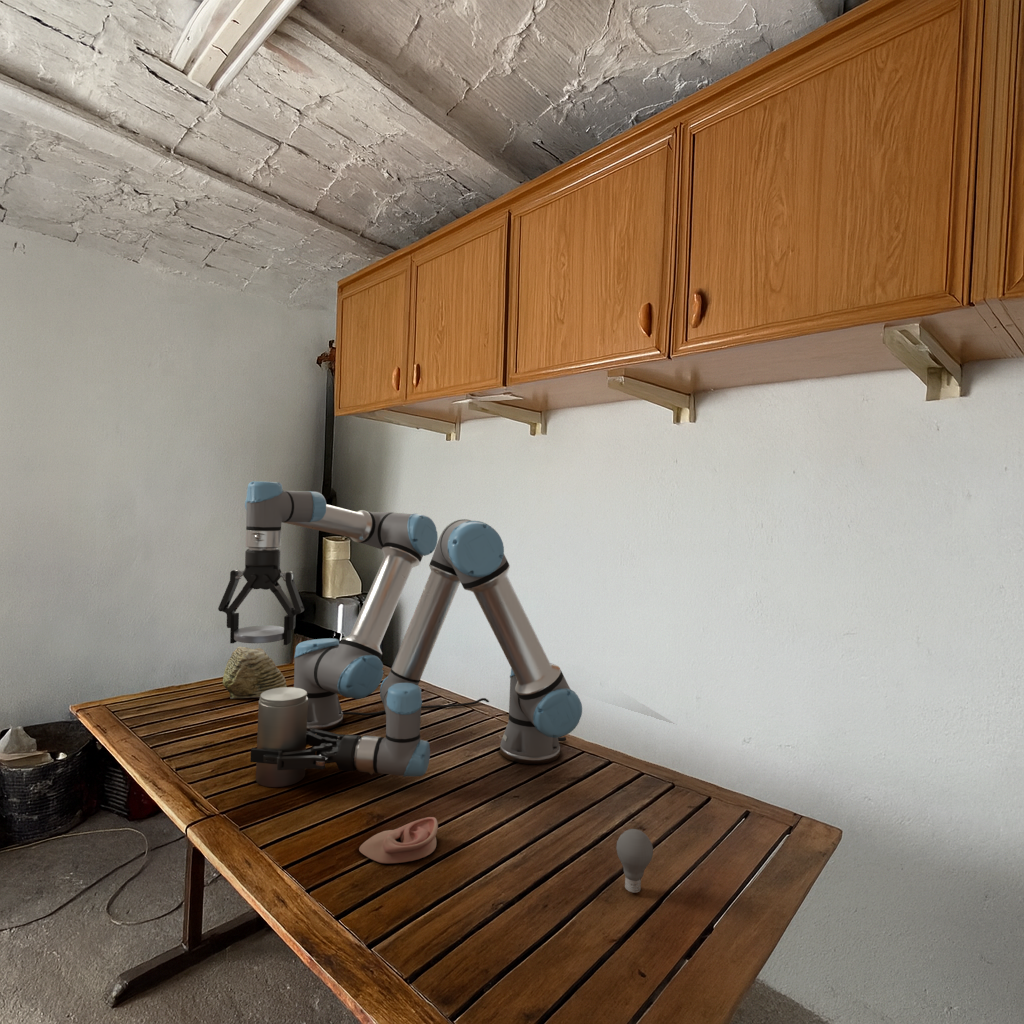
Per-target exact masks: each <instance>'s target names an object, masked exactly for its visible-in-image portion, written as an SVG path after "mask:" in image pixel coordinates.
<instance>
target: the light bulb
mask: <svg viewBox="0 0 1024 1024" xmlns="http://www.w3.org/2000/svg"><path fill="white" fill-rule="evenodd" d="M615 849H616V854H617V857H618V859H619V861H620V863H621V865H622V867H623V873H624V874H623V875H624V876H625V878H624V888H625V890H627V891H628V892H630V893H634V894H635V893H639V892H640V891H641V889H642V887H641V886H642V879H643V877H644V875H645V871H646V868H647V867H648V866H649V864H650V863H651V861H652V859H653V855H654V847H653V843H652V841H651V838H649V836H648V835H647V834H646V833H645V832H643V831H642V830H641V829H636V828H629V829H627V830H625V831H623V832H622V833H621V834H620V835H619V837H618V839H617V841H616V847H615Z"/></svg>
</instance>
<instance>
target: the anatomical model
mask: <svg viewBox="0 0 1024 1024" xmlns="http://www.w3.org/2000/svg"><path fill="white" fill-rule="evenodd" d="M438 830H439V822H438V819H437V818H436V817H434V816H428V817H423V818H419V819H417V820H414V821H410V822H409V823H407V824H404V825H401V826H398V827H397V828H395V829H388V830H383V831H381V832H378V833H376V834H374V835H372V836H371V837H369V838H368V839H366V840H365V841H364V842H363V843H362V844H361V845H360V846H359V848H358V850H359V852H360V853H361V854H362V855H364V857H366V858H368V859H369V860H372V861H374V862H377V863H380V864H399V863H400V864H401V863H409V862H413V861H417V860H420V859H422V858H426V857H427V856H429V855H431V854H432V853H433V852H435V850H436V847H437V837H436V836H437V834H438Z"/></svg>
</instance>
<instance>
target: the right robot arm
mask: <svg viewBox="0 0 1024 1024" xmlns="http://www.w3.org/2000/svg"><path fill="white" fill-rule="evenodd" d="M428 567H429V569H430V573H429V575H428V578H427V580H426V582H425V585H424V587H423V590H422V593H421V595H420V597H419V600H418V603H417V605H416V607H415V608H414V609H415V610H414V611H413V614H412V616H411V619H410V622H409V623H408V627H407V629H406V631H405V633H404V636H403V639H402V641H401V644H400V645H399V648H398V651H397V654H396V656H395V658H394V660H393V663H392V666H391V668H390V671H389V672H388V675H387V676H386V677H385V678H384V679H382V681H381V683H380V689H379V690H380V691H379V692H380V693H379V696H380V699H381V702H382V705H383V708H384V710H385V712H386V713H385V736H375V735H363V736H361V735H359V734H344V733H343V734H339V733H335V732H330V731H327V730H325V731H322V730H318V729H310V732H309V731H307V733H306V747H307V746H309V747H311V748H310V749H306V750H301V751H293V752H285V753H282V750H267V749H257V747H255V748H254V747H252V748H251V749H250V759H249V760H250V763H256V762H257V763H268V764H277V770H296V769H305V770H320V771H321V770H325V769H326V765H327V764H332V763H333V764H334V763H335V764H336V765H337V768H338V769H339V770H340V771H345V772H356V771H357V772H359V773H368V774H369V775H373V774H382V775H390V776H391V775H392V776H400V777H405V778H406V777H411V778H412V777H413V778H415V777H423V776H425V774H426V773H427V771H428V769H429V765H430V760H431V759H430V758H431V749H430V748H431V745H430V743H429V741H427V740H424V739H421V719H422V708H421V706H423V699H422V688H421V686H419V684H420V682H421V679H422V676H423V674H424V672H425V669H426V666H427V664H428V662H429V659H430V657H431V654H432V653H433V649H434V648H435V646H436V645H435V644H436V642H437V641H438V638H439V635H440V633H441V630H442V628H443V625H444V623H445V620H446V618H447V615H448V614H449V610H450V609H451V606H452V603H453V601H454V599H455V596H456V594H457V591H458V588H459V586H460V584H461V586H462V588H463V589H464V590H465V591H469V592H470V593H471V592H472V593H473V595H474V597H475V599H476V601H477V603H478V605H479V607H480V609H481V612H483V614H484V616H485V618H486V621H487V622H488V625H489V627H490V629H491V630H492V632H493V634H494V637H495V639H496V640H497V643H498V644H499V646H500V649H501V650H502V652H503V654H504V656H505V658H506V661H507V662H508V664H509V666H510V675H509V679H510V680H509V698H508V699H509V700H508V702H509V703H508V721H507V724H506V727H505V729H504V732H503V734H502V738H501V740H500V743H499V744H500V746H499V752H500V754H501V755H502V756H503V757H504V758H505V759H507V760H509V761H511V762H514V763H518V764H525V765H544V764H548V763H552V762H554V761H556V760H558V758H559V757H560V754H561V745H560V742H566V741H567V737H565V736H567V735H569V734H570V733H572V732H574V730H575V729H576V727H578V725H579V724H580V720H581V719H582V716H583V715H582V714H583V705H582V701H581V699H580V697H579V696H578V694H577V692H575V691H574V690H573V689H571V688H570V685H569V683H568V681H567V680H566V677H565V676H564V673H563V672H562V669H561V667H560V666H559V665H557V664H555V663H553V662H550V659H549V658H548V656H547V654H546V651H545V649H544V647H543V646H542V643H541V641H540V639H539V637H538V635H537V634H536V631H535V629H534V627H533V625H532V622H531V621H530V618H529V617H528V615H527V613H526V610H525V609H524V607H523V604H522V603H521V601H520V599H519V597H518V595H517V592H516V591H515V589H514V586H513V584H512V582H511V580H510V578H509V576H508V573H509V571H510V567H511V565H510V563H509V561H508V559H507V557H506V555H505V546H504V542H503V540H502V537H501V536H500V534H499V533H498V531H497V530H496V529H495V528H494V527H492V525H489V524H488V523H486V522H484V521H480V520H471V519H466V518H464V519H462V518H461V519H457V520H454V521H452V522H451V523H449V524H447V525H446V527H444V529H443V530H442V531H441V534H440V535H439V537H438V539H437V545H436V548H435V550H434V551H433V554H432V557H431V559H430V562H429V564H428Z"/></svg>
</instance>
